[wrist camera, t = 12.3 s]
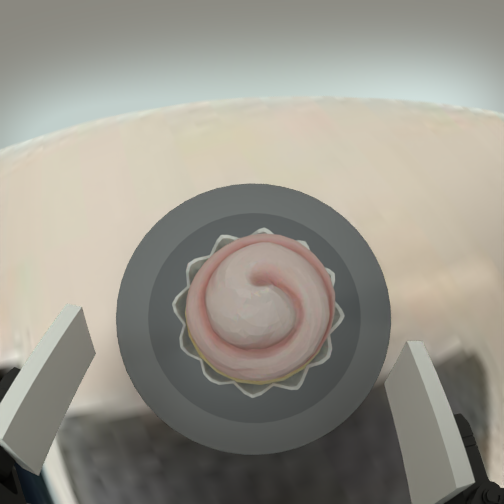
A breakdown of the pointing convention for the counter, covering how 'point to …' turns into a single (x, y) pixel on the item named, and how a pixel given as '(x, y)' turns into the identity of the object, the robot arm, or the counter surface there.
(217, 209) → the slate plate
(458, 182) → the counter surface
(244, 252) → the cupcake
